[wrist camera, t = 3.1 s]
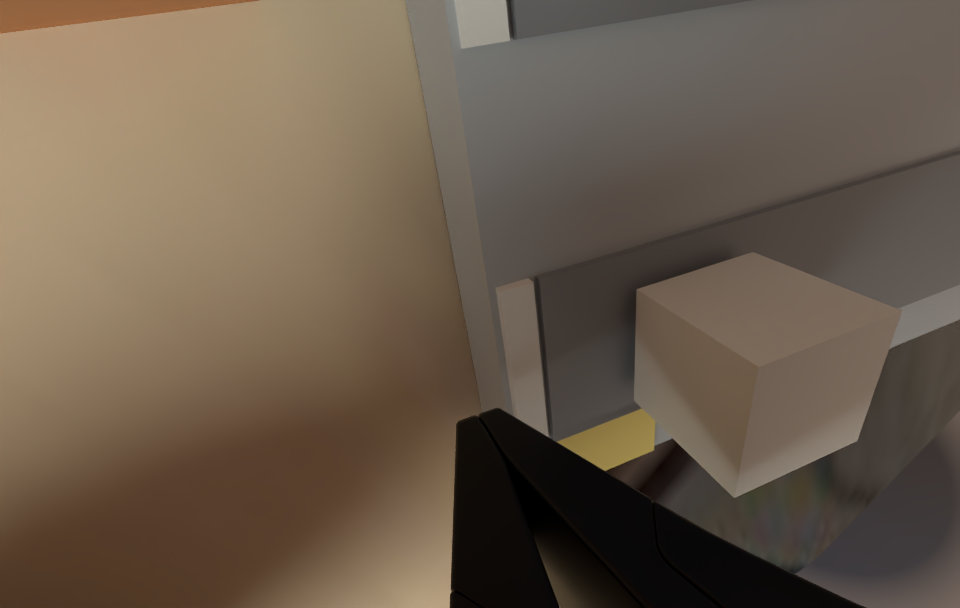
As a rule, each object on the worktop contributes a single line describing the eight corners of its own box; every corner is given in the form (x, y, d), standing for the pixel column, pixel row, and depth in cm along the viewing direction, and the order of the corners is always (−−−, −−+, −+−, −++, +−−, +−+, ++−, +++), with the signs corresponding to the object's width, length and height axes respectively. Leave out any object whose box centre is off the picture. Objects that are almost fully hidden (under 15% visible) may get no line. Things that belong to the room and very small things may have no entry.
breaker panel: (896, 284, 18) (984, 315, 16) (486, 437, 14) (524, 508, 12) (1108, -360, 10) (1345, -487, 8) (327, -415, 6) (347, -690, 4)
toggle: (736, 361, 12) (857, 440, 9) (634, 400, 11) (734, 497, 9) (752, 251, 10) (902, 310, 8) (636, 289, 10) (758, 366, 7)
